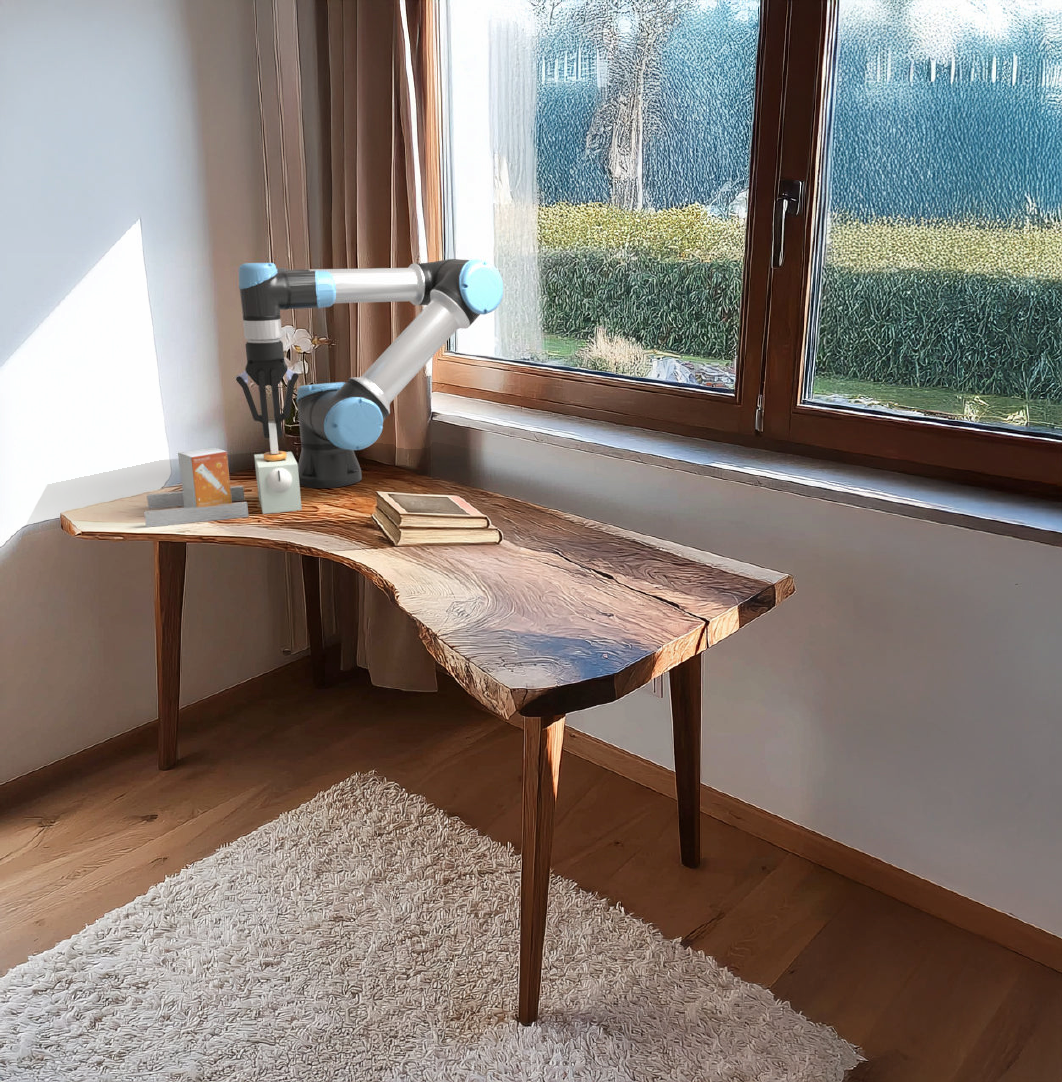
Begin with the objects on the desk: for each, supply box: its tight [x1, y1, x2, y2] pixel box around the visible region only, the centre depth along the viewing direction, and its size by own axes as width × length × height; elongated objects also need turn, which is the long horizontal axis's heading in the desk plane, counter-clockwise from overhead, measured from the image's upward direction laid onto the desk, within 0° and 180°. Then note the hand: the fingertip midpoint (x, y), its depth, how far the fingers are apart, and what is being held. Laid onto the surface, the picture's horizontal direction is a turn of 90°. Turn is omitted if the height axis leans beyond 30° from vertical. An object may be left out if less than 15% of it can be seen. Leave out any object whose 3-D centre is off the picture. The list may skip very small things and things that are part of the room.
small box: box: [177, 446, 233, 508], centre depth 207 cm, size 8×6×13 cm
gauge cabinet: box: [253, 451, 303, 515], centre depth 212 cm, size 8×14×10 cm, turn 19°
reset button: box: [262, 450, 287, 462], centre depth 211 cm, size 5×5×6 cm
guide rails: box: [143, 485, 249, 528], centre depth 208 cm, size 20×15×3 cm
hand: (274, 452), depth 210 cm, fingers closed
